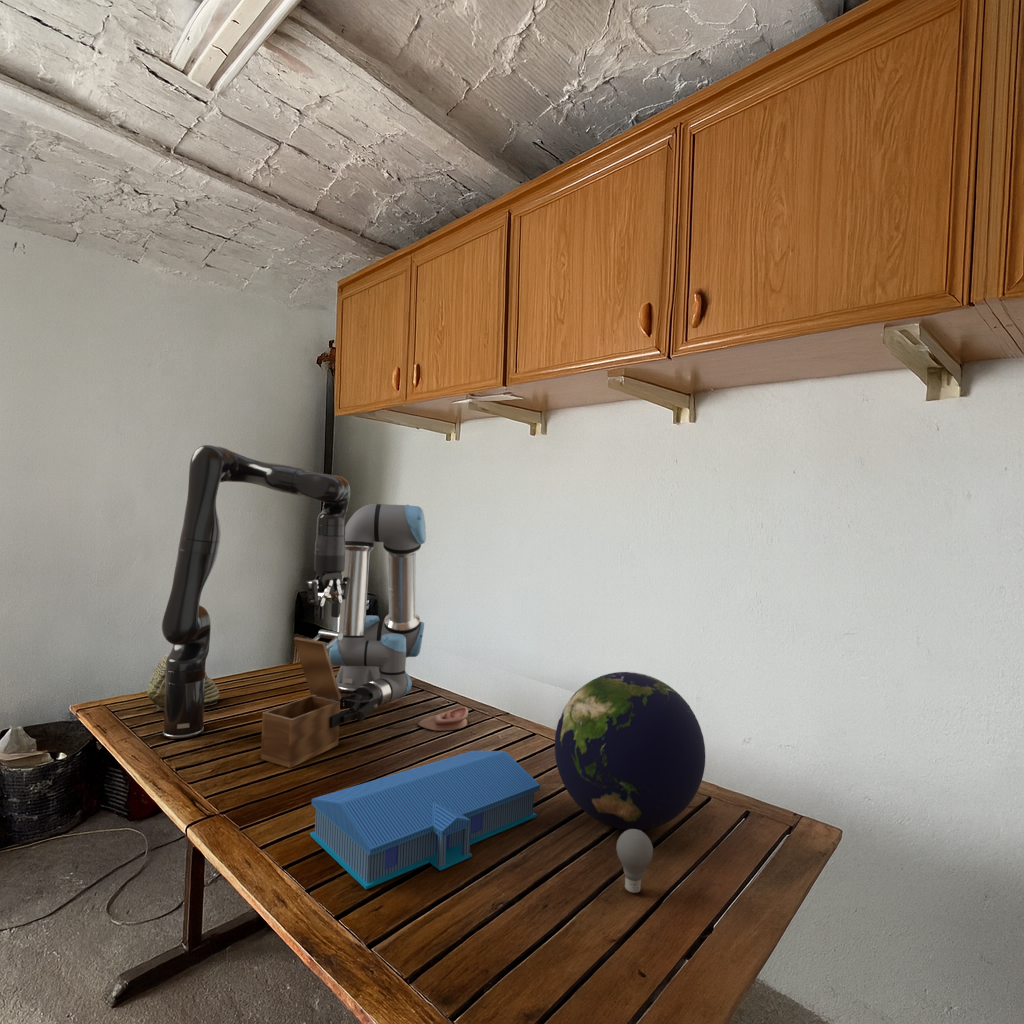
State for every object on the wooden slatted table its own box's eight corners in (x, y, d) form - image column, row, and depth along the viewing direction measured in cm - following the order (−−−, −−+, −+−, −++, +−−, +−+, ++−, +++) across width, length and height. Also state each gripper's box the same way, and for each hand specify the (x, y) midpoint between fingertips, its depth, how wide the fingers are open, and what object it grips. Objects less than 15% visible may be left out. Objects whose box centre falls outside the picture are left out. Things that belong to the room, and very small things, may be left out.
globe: (530, 838, 120) (537, 682, 120) (575, 777, 148) (580, 650, 148) (692, 880, 109) (701, 707, 109) (708, 805, 137) (715, 668, 136)
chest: (290, 768, 147) (292, 720, 147) (260, 759, 151) (262, 712, 151) (338, 745, 162) (340, 701, 161) (310, 737, 166) (311, 695, 166)
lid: (322, 644, 155) (344, 625, 162) (293, 638, 159) (316, 620, 166) (339, 700, 161) (359, 680, 168) (310, 694, 165) (331, 674, 172)
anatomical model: (414, 713, 175) (428, 701, 186) (414, 728, 175) (427, 714, 186) (460, 719, 172) (471, 706, 184) (460, 733, 172) (471, 719, 184)
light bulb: (610, 879, 108) (613, 822, 108) (644, 879, 109) (647, 822, 109) (619, 902, 102) (622, 840, 102) (655, 901, 103) (658, 840, 103)
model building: (376, 899, 100) (378, 836, 100) (308, 834, 119) (310, 781, 118) (548, 822, 127) (550, 773, 127) (472, 779, 145) (474, 735, 145)
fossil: (144, 707, 182) (145, 655, 182) (212, 696, 194) (213, 647, 194) (151, 716, 175) (153, 662, 175) (221, 703, 188) (223, 653, 188)
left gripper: (321, 555, 154) (318, 625, 154) (359, 552, 167) (357, 616, 167) (298, 553, 157) (295, 621, 158) (337, 550, 170) (335, 613, 171)
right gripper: (402, 716, 176) (348, 742, 156) (340, 701, 185) (282, 724, 165) (404, 689, 175) (350, 712, 155) (341, 676, 185) (283, 696, 165)
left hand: (327, 618), depth 162 cm, fingers open, 5 cm apart
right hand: (315, 718), depth 160 cm, fingers closed on chest, 10 cm apart
